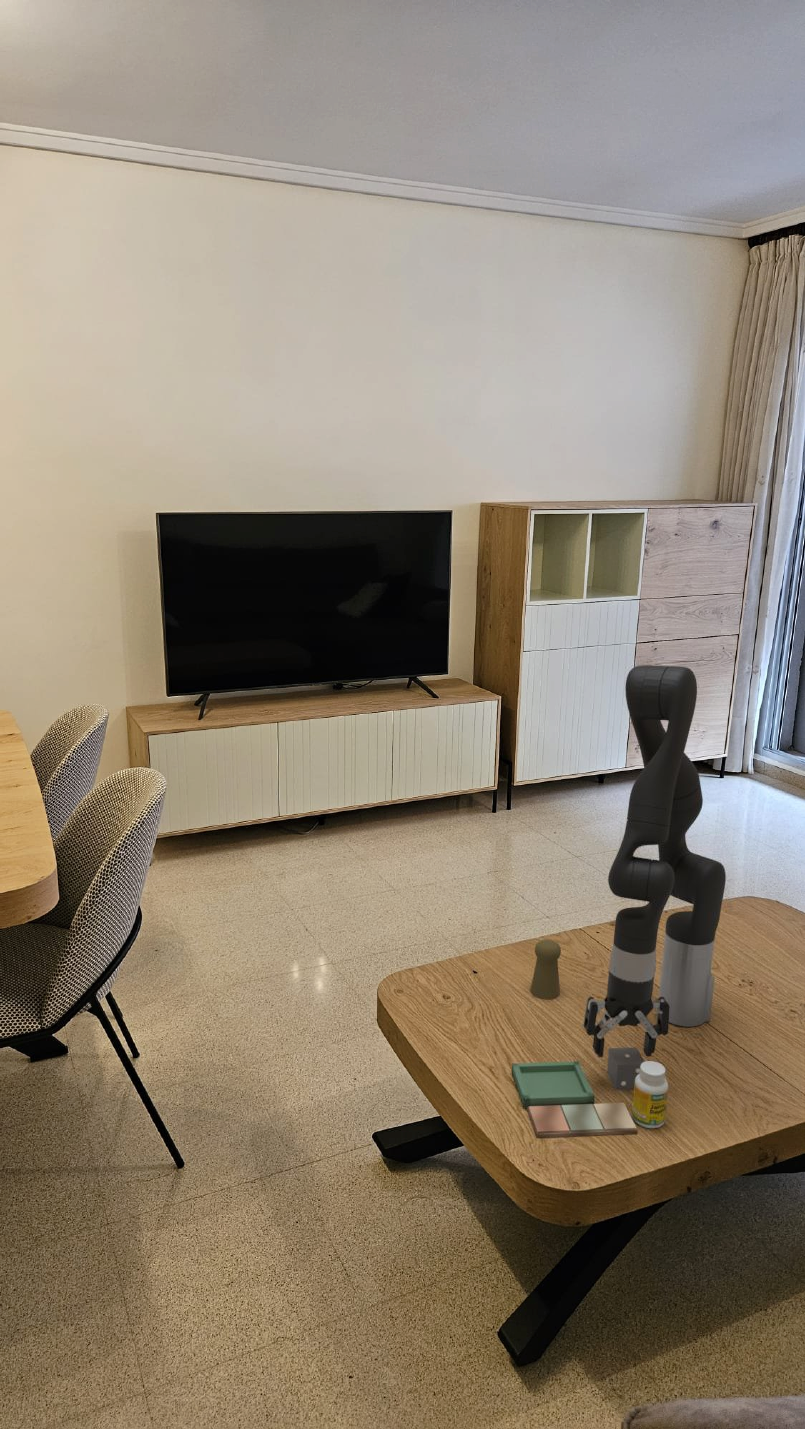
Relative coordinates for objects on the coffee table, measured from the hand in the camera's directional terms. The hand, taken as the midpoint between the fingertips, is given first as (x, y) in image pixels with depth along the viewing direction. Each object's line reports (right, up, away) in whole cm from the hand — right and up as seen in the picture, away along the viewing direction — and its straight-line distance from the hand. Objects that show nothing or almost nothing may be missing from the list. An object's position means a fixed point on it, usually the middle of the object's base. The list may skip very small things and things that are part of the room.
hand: (623, 1054), depth 171 cm
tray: (-13, -5, -2) cm, 14 cm away
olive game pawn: (-9, +2, +30) cm, 31 cm away
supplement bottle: (+2, -8, -9) cm, 12 cm away
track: (-9, -8, -10) cm, 15 cm away
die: (+1, -5, +1) cm, 5 cm away
